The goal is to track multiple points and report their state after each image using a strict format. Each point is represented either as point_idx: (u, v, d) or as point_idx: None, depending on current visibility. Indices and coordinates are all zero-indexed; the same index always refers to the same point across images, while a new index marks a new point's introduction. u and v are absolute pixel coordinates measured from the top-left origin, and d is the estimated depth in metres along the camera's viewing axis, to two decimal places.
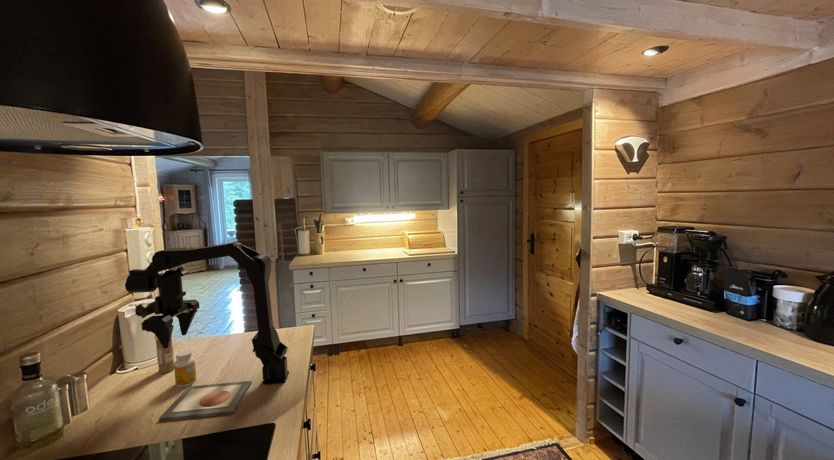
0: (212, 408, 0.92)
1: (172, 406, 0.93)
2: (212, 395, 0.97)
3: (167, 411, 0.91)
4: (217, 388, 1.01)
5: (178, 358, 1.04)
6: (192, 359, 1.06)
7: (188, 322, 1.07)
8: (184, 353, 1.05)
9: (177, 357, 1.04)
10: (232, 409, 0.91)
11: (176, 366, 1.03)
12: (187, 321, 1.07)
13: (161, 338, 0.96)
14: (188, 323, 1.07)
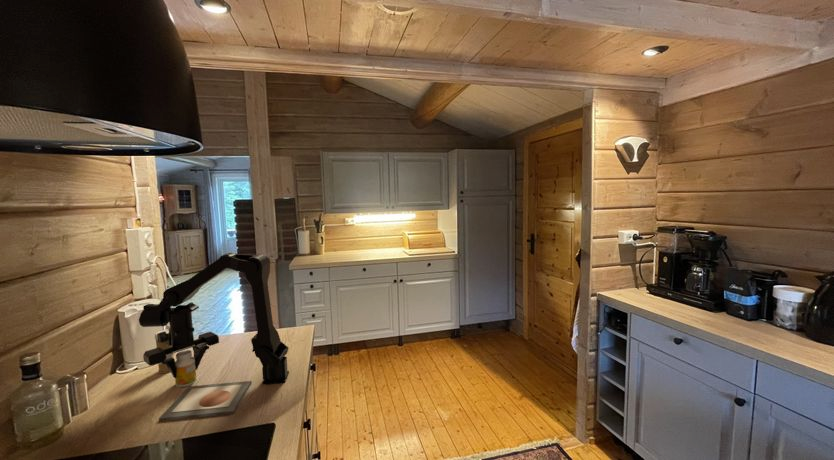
0: (212, 408, 0.92)
1: (172, 406, 0.93)
2: (212, 395, 0.97)
3: (167, 411, 0.91)
4: (217, 388, 1.01)
5: (178, 358, 1.04)
6: (192, 359, 1.06)
7: (197, 358, 1.07)
8: (184, 353, 1.05)
9: (177, 357, 1.04)
10: (232, 409, 0.91)
11: (176, 366, 1.03)
12: (197, 357, 1.07)
13: (169, 368, 1.03)
14: (197, 359, 1.07)
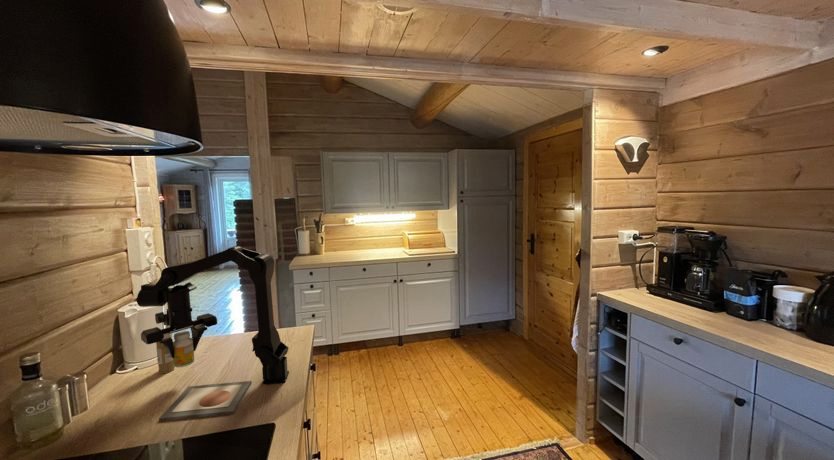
0: (212, 408, 0.92)
1: (172, 406, 0.93)
2: (212, 395, 0.97)
3: (167, 411, 0.91)
4: (217, 388, 1.01)
5: (176, 338, 1.03)
6: (190, 340, 1.05)
7: (195, 339, 1.07)
8: (182, 333, 1.04)
9: (175, 337, 1.03)
10: (232, 409, 0.91)
11: (174, 346, 1.03)
12: (195, 338, 1.07)
13: (167, 348, 1.02)
14: (195, 340, 1.07)
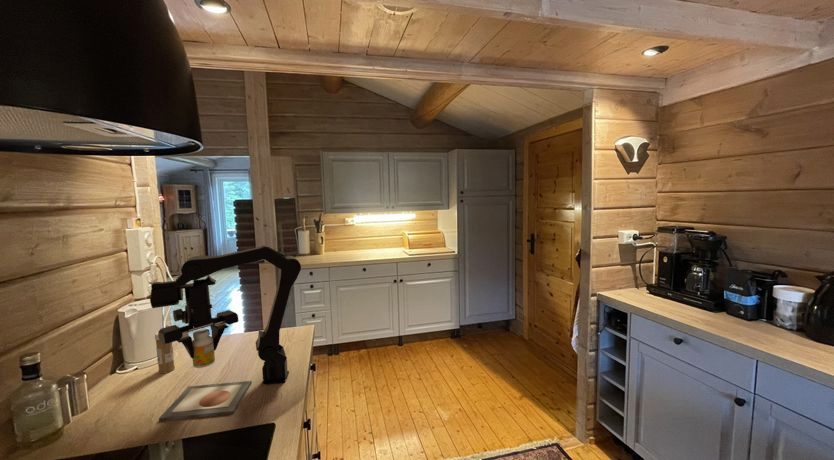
0: (212, 408, 0.92)
1: (172, 406, 0.93)
2: (212, 395, 0.97)
3: (167, 411, 0.91)
4: (217, 388, 1.01)
5: (195, 337, 0.96)
6: (210, 338, 0.98)
7: (215, 338, 0.99)
8: (201, 332, 0.97)
9: (194, 336, 0.96)
10: (232, 409, 0.91)
11: (193, 345, 0.95)
12: (215, 336, 0.99)
13: (186, 347, 0.95)
14: (216, 339, 0.99)
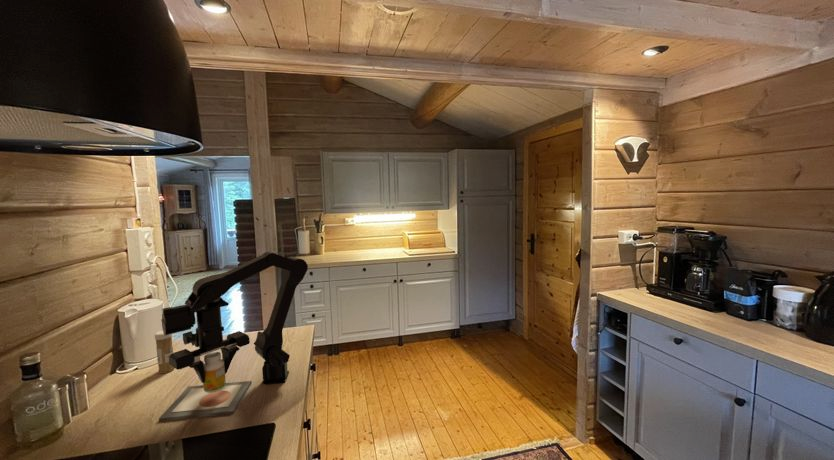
0: (212, 408, 0.92)
1: (172, 406, 0.93)
2: (212, 395, 0.97)
3: (167, 411, 0.91)
4: None
5: (207, 361, 0.93)
6: (221, 362, 0.95)
7: (226, 361, 0.97)
8: (213, 355, 0.95)
9: (205, 359, 0.93)
10: (232, 409, 0.91)
11: (204, 370, 0.93)
12: (226, 359, 0.97)
13: (197, 372, 0.92)
14: (227, 362, 0.97)
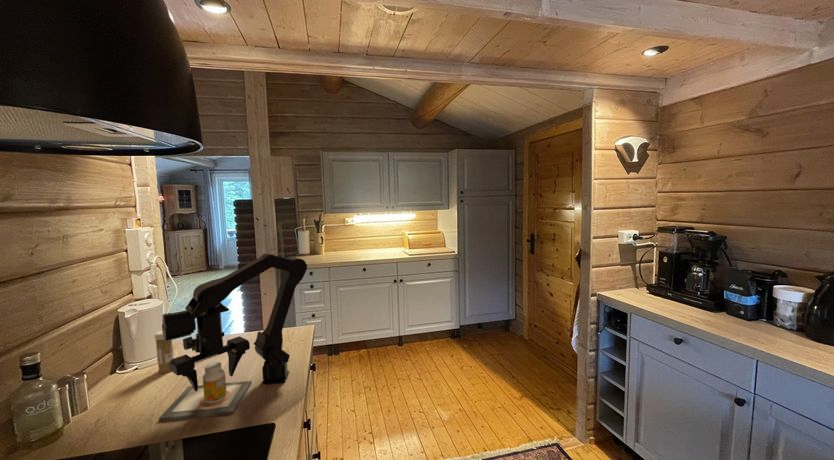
0: (212, 408, 0.92)
1: (172, 406, 0.93)
2: None
3: (167, 411, 0.91)
4: None
5: (207, 371, 0.93)
6: (222, 372, 0.96)
7: (233, 364, 0.98)
8: (213, 365, 0.95)
9: (206, 370, 0.93)
10: (232, 409, 0.91)
11: (205, 380, 0.93)
12: (232, 362, 0.98)
13: (189, 380, 0.91)
14: (233, 365, 0.98)
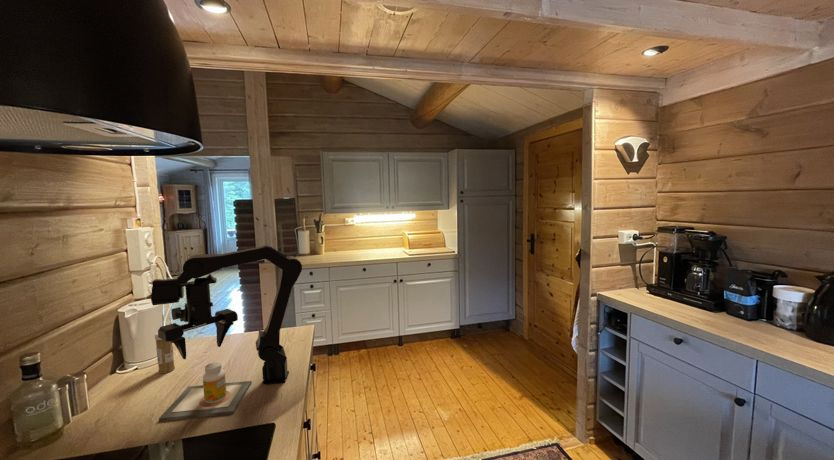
0: (212, 408, 0.92)
1: (172, 406, 0.93)
2: None
3: (167, 411, 0.91)
4: None
5: (207, 371, 0.93)
6: (222, 372, 0.96)
7: (221, 334, 1.01)
8: (214, 365, 0.95)
9: (206, 370, 0.93)
10: (232, 409, 0.91)
11: (205, 380, 0.93)
12: (220, 333, 1.01)
13: (178, 348, 0.93)
14: (221, 336, 1.01)
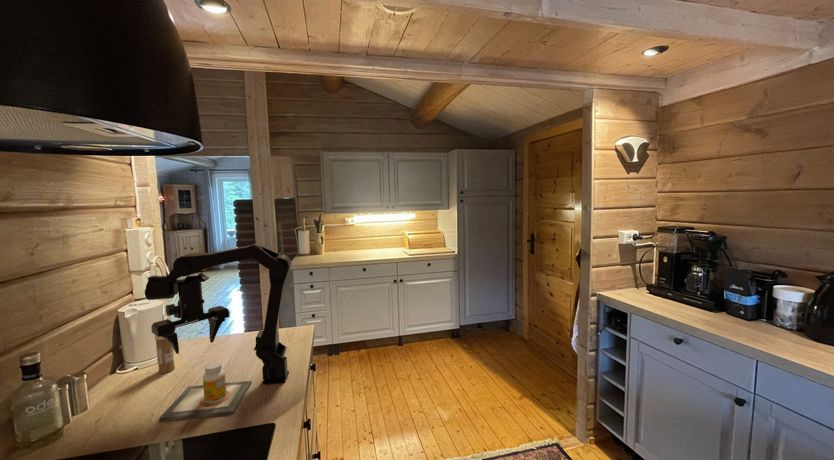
0: (212, 408, 0.92)
1: (172, 406, 0.93)
2: None
3: (167, 411, 0.91)
4: None
5: (207, 371, 0.93)
6: (222, 372, 0.96)
7: (213, 330, 1.04)
8: (214, 365, 0.95)
9: (206, 370, 0.93)
10: (232, 409, 0.91)
11: (205, 380, 0.93)
12: (213, 329, 1.04)
13: (171, 343, 0.97)
14: (213, 332, 1.04)
